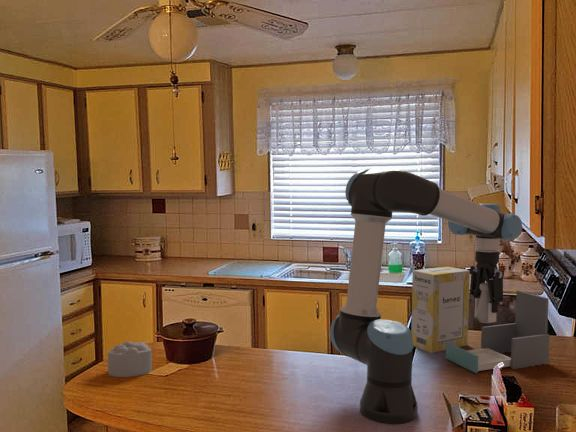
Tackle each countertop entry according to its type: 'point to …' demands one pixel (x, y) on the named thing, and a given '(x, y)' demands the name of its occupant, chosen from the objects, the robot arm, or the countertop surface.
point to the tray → (475, 358)
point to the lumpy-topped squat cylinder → (129, 359)
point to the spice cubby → (522, 333)
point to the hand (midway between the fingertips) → (485, 319)
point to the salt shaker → (483, 304)
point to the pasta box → (440, 308)
